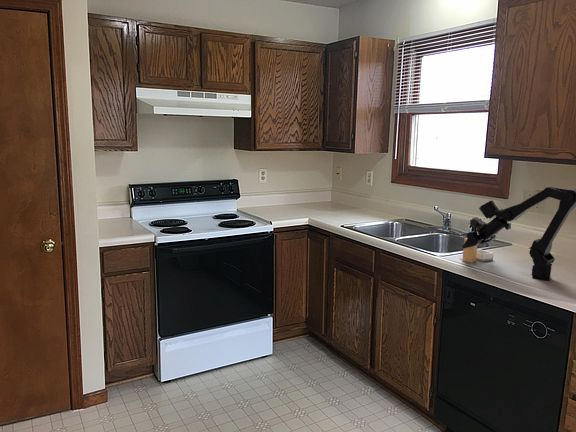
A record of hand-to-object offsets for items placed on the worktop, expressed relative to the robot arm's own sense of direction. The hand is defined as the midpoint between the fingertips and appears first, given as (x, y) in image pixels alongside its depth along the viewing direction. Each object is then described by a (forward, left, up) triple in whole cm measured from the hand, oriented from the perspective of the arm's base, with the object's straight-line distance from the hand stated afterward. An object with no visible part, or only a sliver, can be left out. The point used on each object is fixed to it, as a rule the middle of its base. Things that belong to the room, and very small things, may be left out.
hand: (467, 246), depth 223 cm
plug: (-1, 0, -7) cm, 7 cm away
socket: (-5, -7, -7) cm, 11 cm away
